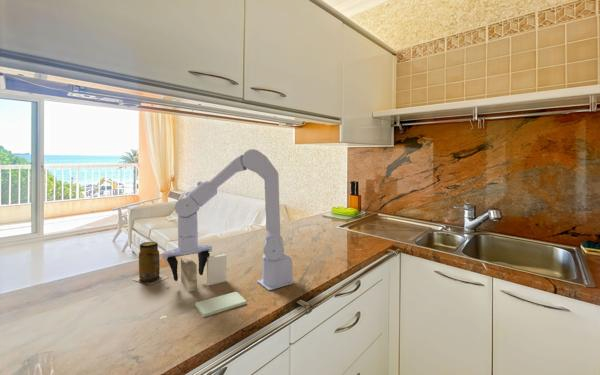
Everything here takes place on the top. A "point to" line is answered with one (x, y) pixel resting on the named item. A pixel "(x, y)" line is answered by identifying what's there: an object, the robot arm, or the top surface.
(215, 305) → the rest board
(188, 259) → the tan wooden block
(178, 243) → the robot arm
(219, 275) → the tile
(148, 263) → the condiment
